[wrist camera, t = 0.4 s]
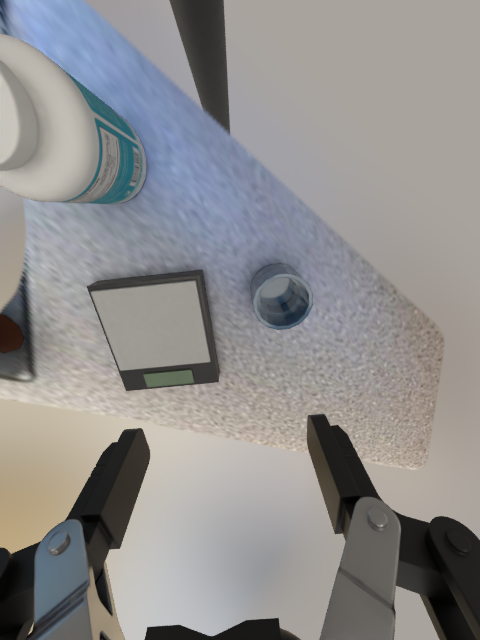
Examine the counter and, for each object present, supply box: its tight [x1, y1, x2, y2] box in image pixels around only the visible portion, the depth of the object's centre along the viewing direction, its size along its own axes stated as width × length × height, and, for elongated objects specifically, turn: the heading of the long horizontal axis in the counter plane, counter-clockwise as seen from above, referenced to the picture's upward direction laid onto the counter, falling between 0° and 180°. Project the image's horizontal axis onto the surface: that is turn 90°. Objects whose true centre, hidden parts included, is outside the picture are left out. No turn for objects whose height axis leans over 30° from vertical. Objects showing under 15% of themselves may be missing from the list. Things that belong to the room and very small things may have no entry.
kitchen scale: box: [87, 270, 219, 391], centre depth 29 cm, size 14×12×3 cm
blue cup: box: [250, 264, 313, 330], centre depth 26 cm, size 6×6×5 cm
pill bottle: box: [0, 34, 146, 204], centre depth 16 cm, size 8×7×14 cm
